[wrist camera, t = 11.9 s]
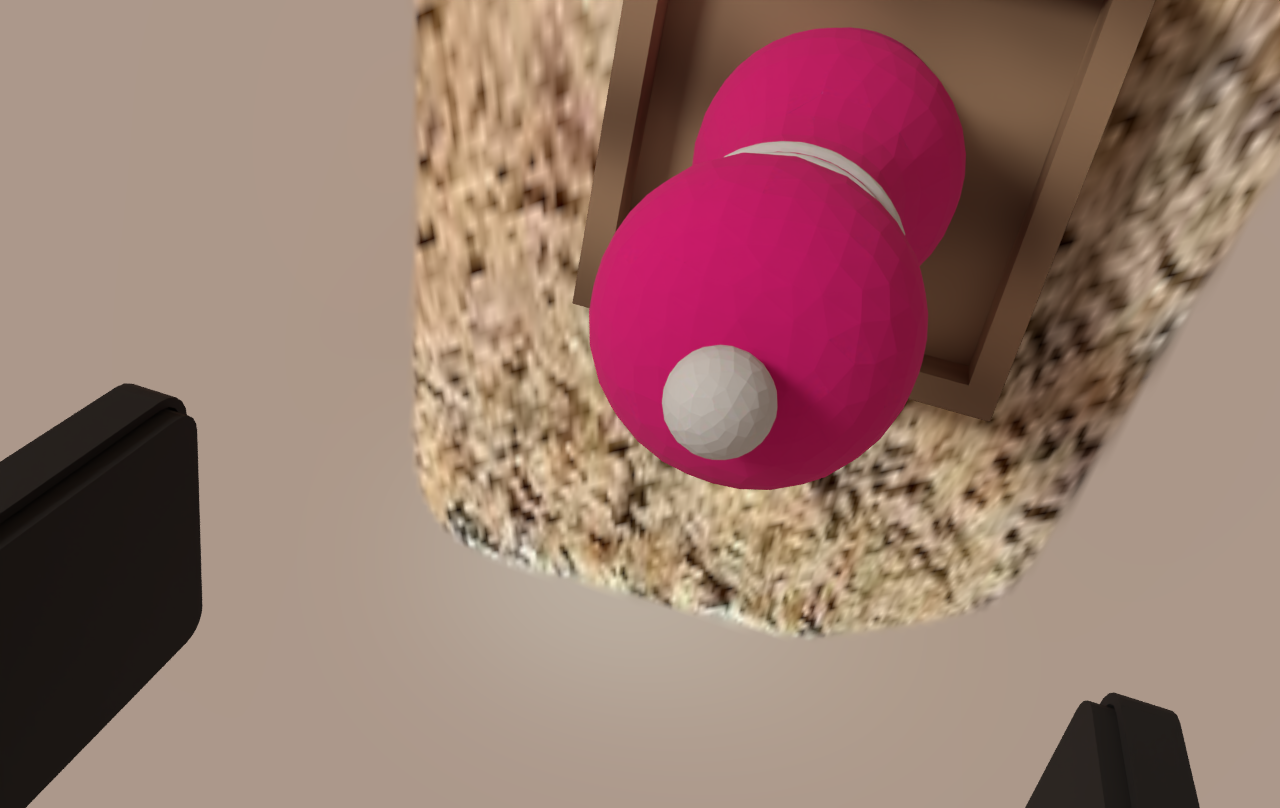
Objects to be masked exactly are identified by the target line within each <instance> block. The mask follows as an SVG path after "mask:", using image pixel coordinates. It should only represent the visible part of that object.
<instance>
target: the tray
mask: <svg viewBox="0 0 1280 808" xmlns="http://www.w3.org/2000/svg"><path fill="white" fill-rule="evenodd" d="M1154 2H1155V0H623V6H622V12H621V18H620V24H619V30H618V36H617V42H616V48H615V54H614V60H613V66H612V72H611V78H610V84H609V89H608V95H607V101H606V107H605V113H604V119H603V125H602V131H601V137H600V143H599V149H598V155H597V161H596V167H595V173H594V179H593V185H592V191H591V197H590V202H589V208H588V214H587V220H586V226H585V232H584V238H583V244H582V250H581V256H580V262H579V268H578V274H577V280H576V286H575V292H574V298H573V304H577V305H580V306H584V307H587V308H590V303H591V297H592V291H593V286H594V282H595V278H596V275H597V272H598V269H599V266H600V263H601V260H602V257H603V255H604V253H605V251H606V249H607V247H608V245H609V243H610V241H611V240H612V238H613V236H614V234H615V232H616V231H617V229H618V228H619V226H620V225H621V224H622V222H623V221H624V219H625V218H626V217H627V215H628V214H629V212H630V211H631V210H632V209H633V208H634V207H635V206H636V205H637V204H638V203H639V202H640V201H641V200H642V199H643V198H644V197H645V196H646V195H647V194H649V193H650V192H652V191H653V190H654V189H656V188H657V187H659V186H660V185H661V184H663V183H664V182H666V181H667V180H669V179H670V178H672V177H674V176H676V175H677V174H679V173H681V172H682V171H684V170H686V169H687V168H689V167H691V166H692V163H693V155H694V147H695V142H696V139H697V136H698V133H699V130H700V127H701V124H702V122H703V119H704V116H705V113H706V111H707V109H708V107H709V106H710V104H711V102H712V100H713V98H714V97H715V95H716V94H717V92H718V90H719V89H720V87H721V86H722V84H723V83H724V81H725V80H726V79H727V78H728V77H729V76H730V75H731V73H732V72H733V71H734V70H735V69H736V68H737V67H738V66H739V65H740V64H741V63H742V62H744V61H745V60H746V59H747V58H748V57H750V56H751V55H752V54H753V53H755V52H756V51H758V50H760V49H761V48H763V47H765V46H766V45H768V44H770V43H772V42H773V41H776V40H778V39H781V38H783V37H786V36H789V35H791V34H794V33H798V32H803V31H807V30H812V29H820V28H848V27H852V28H861V29H866V30H871V31H875V32H879V33H881V34H884V35H886V36H889V37H891V38H893V39H895V40H897V41H898V42H900V43H902V44H904V45H905V46H906V47H908V48H909V49H910V50H912V51H913V52H914V53H915V54H916V55H917V56H918V57H919V58H920V59H921V60H922V61H923V62H924V63H925V64H926V66H927V67H928V68H929V69H930V70H931V71H932V72H933V73H934V74H935V75H936V76H937V77H938V79H939V80H940V82H941V83H942V85H943V86H944V88H945V90H946V91H947V93H948V94H949V96H950V98H951V99H952V101H953V103H954V106H955V109H956V111H957V114H958V117H959V120H960V123H961V125H962V128H963V136H964V143H965V151H966V164H965V178H964V182H963V187H962V192H961V196H960V199H959V202H958V205H957V208H956V210H955V213H954V215H953V217H952V219H951V222H950V224H949V226H948V228H947V230H946V232H945V234H944V236H943V238H942V239H941V241H940V242H939V244H938V245H937V247H936V248H935V249H934V251H933V252H932V254H931V255H930V256H929V257H928V258H927V259H926V260H925V261H924V262H923V263H922V264H921V265H920V270H921V274H922V278H923V283H924V288H925V292H926V300H927V308H928V330H927V342H926V347H925V352H924V357H923V361H922V365H921V368H920V372H919V375H918V377H917V379H916V382H915V384H914V387H913V389H912V392H911V394H910V396H909V398H908V399H911V400H915V401H918V402H922V403H925V404H929V405H932V406H936V407H939V408H943V409H946V410H950V411H953V412H957V413H960V414H964V415H967V416H971V417H974V418H978V419H981V420H985V421H988V422H990V420H991V418H992V415H993V413H994V410H995V408H996V405H997V402H998V400H999V397H1000V395H1001V392H1002V390H1003V387H1004V385H1005V382H1006V380H1007V377H1008V374H1009V372H1010V369H1011V367H1012V364H1013V362H1014V359H1015V357H1016V354H1017V352H1018V349H1019V346H1020V344H1021V341H1022V339H1023V336H1024V334H1025V331H1026V329H1027V326H1028V323H1029V321H1030V318H1031V316H1032V313H1033V311H1034V308H1035V306H1036V303H1037V301H1038V298H1039V295H1040V293H1041V290H1042V288H1043V285H1044V283H1045V280H1046V278H1047V275H1048V273H1049V270H1050V267H1051V265H1052V262H1053V260H1054V257H1055V255H1056V252H1057V250H1058V247H1059V244H1060V242H1061V239H1062V237H1063V234H1064V232H1065V229H1066V227H1067V224H1068V222H1069V219H1070V216H1071V214H1072V211H1073V209H1074V206H1075V204H1076V201H1077V199H1078V196H1079V193H1080V191H1081V188H1082V186H1083V183H1084V181H1085V178H1086V176H1087V173H1088V171H1089V168H1090V165H1091V163H1092V160H1093V158H1094V155H1095V153H1096V150H1097V148H1098V145H1099V143H1100V140H1101V137H1102V135H1103V132H1104V130H1105V127H1106V125H1107V122H1108V120H1109V117H1110V114H1111V112H1112V109H1113V107H1114V104H1115V102H1116V99H1117V97H1118V94H1119V92H1120V89H1121V86H1122V84H1123V81H1124V79H1125V76H1126V74H1127V71H1128V69H1129V66H1130V64H1131V61H1132V58H1133V56H1134V53H1135V51H1136V48H1137V46H1138V43H1139V41H1140V38H1141V35H1142V33H1143V30H1144V28H1145V25H1146V23H1147V20H1148V18H1149V15H1150V13H1151V10H1152V7H1153V5H1154Z"/></svg>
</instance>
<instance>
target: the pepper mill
mask: <svg viewBox="0 0 1280 808" xmlns="http://www.w3.org/2000/svg"><path fill="white" fill-rule="evenodd" d="M965 164H966V151H965V143H964V136H963V128H962V125H961V123H960V120H959V117H958V114H957V111H956V109H955V106H954V103H953V101H952V99H951V98H950V96H949V94H948V93H947V91H946V90H945V88H944V86H943V85H942V83H941V82H940V80H939V79H938V77H937V76H936V75H935V74H934V73H933V72H932V71H931V70H930V69H929V68H928V67H927V66H926V64H925V63H924V62H923V61H922V60H921V59H920V58H919V57H918V56H917V55H916V54H915V53H914V52H913V51H912V50H910V49H909V48H908V47H906V46H905V45H904V44H902V43H900V42H898V41H897V40H895V39H893V38H891V37H889V36H886V35H884V34H881V33H879V32H875V31H871V30H866V29H861V28H852V27H848V28H820V29H812V30H807V31H803V32H798V33H794V34H791V35H789V36H786V37H783V38H781V39H778V40H776V41H773V42H772V43H770V44H768V45H766V46H765V47H763V48H761V49H760V50H758V51H756V52H755V53H753V54H752V55H751V56H750V57H748V58H747V59H746V60H745V61H744V62H742V63H741V64H740V65H739V66H738V67H737V68H736V69H735V70H734V71H733V72H732V73H731V75H730V76H729V77H728V78H727V79H726V80H725V81H724V83H723V84H722V86H721V87H720V89H719V90H718V92H717V94H716V95H715V97H714V98H713V100H712V102H711V104H710V106H709V107H708V109H707V111H706V113H705V116H704V119H703V122H702V124H701V127H700V130H699V133H698V136H697V139H696V142H695V147H694V155H693V163H692V166H691V167H689V168H687V169H686V170H684V171H682V172H681V173H679V174H677V175H676V176H674V177H672V178H670V179H669V180H667V181H666V182H664V183H663V184H661V185H660V186H659V187H657V188H656V189H654V190H653V191H652V192H650V193H649V194H647V195H646V196H645V197H644V198H643V199H642V200H641V201H640V202H639V203H638V204H637V205H636V206H635V207H634V208H633V209H632V210H631V211H630V212H629V214H628V215H627V217H626V218H625V219H624V221H623V222H622V224H621V225H620V226H619V228H618V229H617V231H616V232H615V234H614V236H613V238H612V240H611V241H610V243H609V245H608V247H607V249H606V251H605V253H604V255H603V257H602V260H601V263H600V266H599V269H598V272H597V275H596V278H595V282H594V286H593V291H592V297H591V303H590V309H589V324H590V347H591V351H592V356H593V360H594V363H595V367H596V371H597V375H598V379H599V383H600V385H601V387H602V389H603V391H604V393H605V395H606V397H607V399H608V401H609V403H610V405H611V407H612V408H613V410H614V411H615V413H616V415H617V416H618V418H619V419H620V420H621V421H622V422H623V424H624V425H625V426H626V427H627V429H628V430H629V431H630V432H631V434H632V435H633V436H634V437H635V438H636V439H637V441H638V442H639V443H641V444H642V445H643V446H644V447H646V448H647V449H648V450H649V451H650V452H652V453H653V454H654V455H655V456H657V457H658V458H659V459H660V460H661V461H663V462H665V463H667V464H669V465H671V466H673V467H675V468H677V469H679V470H681V471H683V472H684V473H686V474H689V475H691V476H694V477H697V478H700V479H702V480H705V481H708V482H710V483H714V484H719V485H723V486H728V487H733V488H737V489H758V490H772V489H778V488H784V487H790V486H795V485H801V484H805V483H808V482H811V481H814V480H817V479H820V478H824V477H826V476H828V475H829V474H831V473H833V472H835V471H836V470H838V469H840V468H841V467H843V466H845V465H847V464H848V463H850V462H852V461H853V460H855V459H856V458H858V457H859V456H860V455H862V454H863V453H864V452H865V451H866V450H868V449H869V448H870V447H871V446H872V445H874V444H875V443H876V442H877V441H878V440H879V439H881V437H882V436H883V435H884V433H885V432H886V431H887V430H888V428H889V427H890V426H891V424H892V423H893V422H894V420H895V419H896V418H897V416H898V415H899V414H900V412H901V411H902V410H903V408H904V406H905V404H906V402H907V400H908V398H909V396H910V394H911V392H912V389H913V387H914V384H915V382H916V379H917V377H918V375H919V372H920V368H921V365H922V361H923V357H924V352H925V347H926V342H927V330H928V308H927V300H926V292H925V288H924V283H923V278H922V274H921V270H920V265H921V264H922V263H923V262H924V261H925V260H926V259H927V258H928V257H929V256H930V255H931V254H932V252H933V251H934V249H935V248H936V247H937V245H938V244H939V242H940V241H941V239H942V238H943V236H944V234H945V232H946V230H947V228H948V226H949V224H950V222H951V219H952V217H953V215H954V213H955V210H956V208H957V205H958V202H959V199H960V196H961V192H962V187H963V182H964V178H965Z"/></svg>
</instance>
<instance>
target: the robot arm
mask: <svg viewBox="0 0 1280 808" xmlns="http://www.w3.org/2000/svg"><path fill="white" fill-rule="evenodd" d="M197 445H198V444H197V428H196V423H195V421H194V419H193V418H192V417H190V416H188V415H187V414H186V408H185V406H184V404H183V402H182V401H181V400H179V399H178V398H176V397H173V396H169V395H166V394H163V393H160V392H157V391H153V390H150V389H147V388H144V387H141V386H138V385H134V384H122V385H120V386H118V387H116V388H114V389H112V390H111V391H109V392H108V393H106V394H105V395H103V396H102V397H100V398H98V399H97V400H95V401H94V402H92V403H91V404H89V405H88V406H86V407H85V408H83V409H81V410H80V411H78V412H77V413H75V414H74V415H72V416H71V417H69V418H67V419H66V420H64V421H63V422H61V423H60V424H58V425H57V426H55V427H53V428H52V429H50V430H49V431H47V432H46V433H44V434H43V435H41V436H39V437H38V438H37V439H35V440H34V441H32V442H30V443H29V444H27V445H26V446H24V447H23V448H21V449H19V450H18V451H16V452H15V453H13V454H12V455H10V456H9V457H7V458H5V459H4V460H3V461H1V462H0V808H26V807H27V806H28V805H29V804H30V803H31V802H32V800H33V799H35V797H36V796H37V795H38V794H39V793H40V792H41V791H42V790H43V789H44V788H45V787H46V786H47V785H48V784H49V783H50V782H51V781H52V780H53V779H54V778H55V777H56V776H57V775H58V773H60V772H61V771H62V770H63V769H64V768H65V767H66V766H67V765H68V763H70V762H71V761H72V760H73V758H74V757H75V756H76V755H77V754H78V753H79V752H80V751H81V750H82V749H83V748H84V747H85V746H86V745H87V744H88V743H89V742H90V741H91V740H92V739H93V738H94V737H95V736H96V735H97V734H98V733H99V732H100V731H101V730H102V729H103V728H104V727H105V726H106V725H107V723H109V721H111V719H112V718H113V717H114V716H115V715H116V714H117V713H118V712H119V711H120V710H121V709H122V708H123V707H124V706H125V705H126V704H127V703H128V702H129V701H130V700H131V699H132V698H133V697H134V696H135V695H136V694H137V693H138V692H139V691H140V689H142V688H143V687H144V686H145V685H146V684H147V683H148V681H149V680H150V679H151V678H152V677H153V676H154V675H155V674H156V673H157V672H158V671H159V670H160V669H161V668H162V667H163V666H164V665H165V664H166V663H167V662H168V661H169V660H170V659H171V658H172V657H173V656H174V655H175V654H176V653H177V652H178V651H179V650H180V649H181V648H182V647H183V645H185V644H186V643H187V641H188V640H189V639H190V638H191V636H192V635H193V633H194V631H195V630H196V628H197V625H198V623H199V620H200V617H201V613H202V583H201V582H202V580H201V547H200V515H199V514H200V513H199V480H198V479H199V478H198V446H197ZM1025 808H1200V807H1199V803H1198V798H1197V794H1196V789H1195V785H1194V781H1193V776H1192V772H1191V768H1190V764H1189V759H1188V755H1187V751H1186V746H1185V742H1184V738H1183V734H1182V729H1181V725H1180V722H1179V719H1178V716H1177V715H1176V714H1175V713H1174V712H1173V711H1170V710H1167V709H1164V708H1161V707H1158V706H1155V705H1152V704H1149V703H1145V702H1142V701H1139V700H1136V699H1132V698H1129V697H1126V696H1123V695H1120V694H1117V693H1109V694H1108V695H1107V696H1105V697H1104V698H1103V700H1102V701H1101V703H1100V704H1097V703H1094V702H1091V701H1083V702H1082V703H1081V704H1080V705H1079V707H1078V709H1077V710H1076V712H1075V714H1074V716H1073V718H1072V720H1071V722H1070V724H1069V725H1068V727H1067V729H1066V731H1065V733H1064V735H1063V737H1062V739H1061V741H1060V743H1059V745H1058V746H1057V748H1056V750H1055V752H1054V754H1053V756H1052V758H1051V760H1050V762H1049V763H1048V765H1047V767H1046V769H1045V771H1044V773H1043V775H1042V777H1041V779H1040V781H1039V782H1038V785H1037V786H1036V788H1035V790H1034V792H1033V794H1032V796H1031V798H1030V800H1029V802H1028V804H1027V805H1026V807H1025Z"/></svg>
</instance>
